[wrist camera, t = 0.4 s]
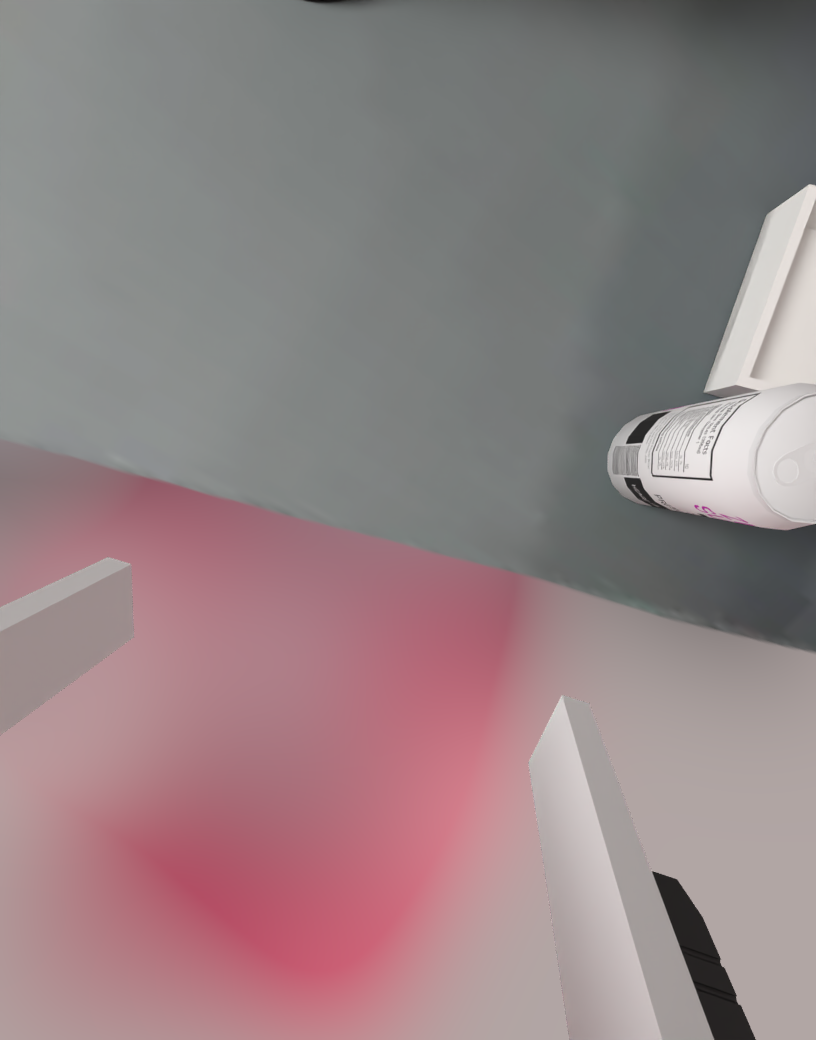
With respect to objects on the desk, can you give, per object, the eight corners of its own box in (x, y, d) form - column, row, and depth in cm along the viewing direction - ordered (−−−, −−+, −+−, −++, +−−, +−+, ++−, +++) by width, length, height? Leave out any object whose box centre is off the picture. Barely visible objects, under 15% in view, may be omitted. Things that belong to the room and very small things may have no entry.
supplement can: (678, 398, 34) (881, 349, 19) (705, 483, 35) (917, 499, 20) (591, 435, 35) (722, 416, 20) (620, 517, 36) (765, 558, 21)
